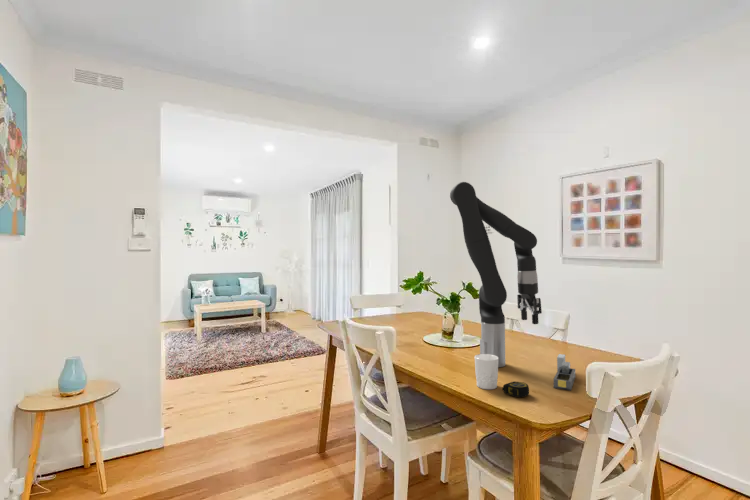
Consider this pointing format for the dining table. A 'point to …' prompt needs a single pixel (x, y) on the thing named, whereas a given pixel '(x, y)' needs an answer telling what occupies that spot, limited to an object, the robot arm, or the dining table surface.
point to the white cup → (486, 371)
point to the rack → (564, 377)
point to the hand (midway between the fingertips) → (529, 321)
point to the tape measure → (516, 389)
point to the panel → (560, 360)
